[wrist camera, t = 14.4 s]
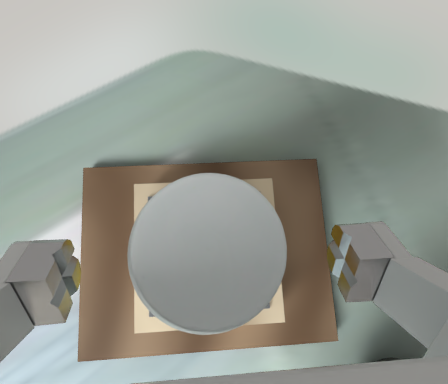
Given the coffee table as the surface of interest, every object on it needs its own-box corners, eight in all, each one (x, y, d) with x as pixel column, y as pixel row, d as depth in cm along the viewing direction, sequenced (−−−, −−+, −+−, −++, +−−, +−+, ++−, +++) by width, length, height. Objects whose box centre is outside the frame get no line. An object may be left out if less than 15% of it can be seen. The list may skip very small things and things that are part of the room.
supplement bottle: (170, 316, 16) (125, 400, 7) (145, 218, 17) (75, 177, 8) (267, 285, 17) (343, 323, 8) (238, 192, 18) (274, 125, 9)
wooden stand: (84, 356, 20) (51, 383, 16) (88, 171, 22) (61, 152, 18) (331, 336, 21) (363, 357, 17) (311, 162, 23) (335, 142, 19)
